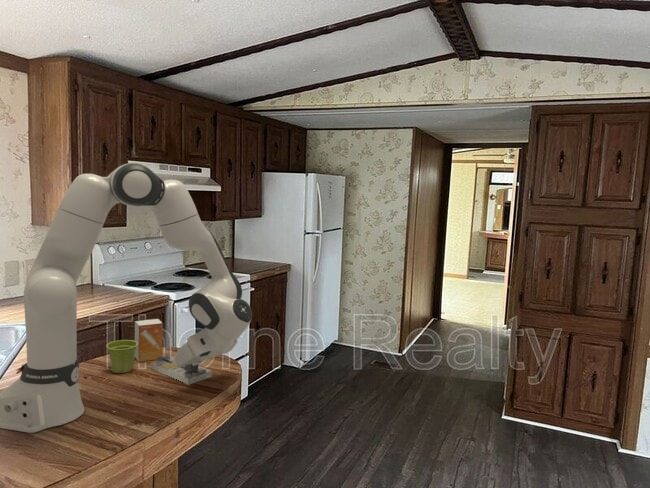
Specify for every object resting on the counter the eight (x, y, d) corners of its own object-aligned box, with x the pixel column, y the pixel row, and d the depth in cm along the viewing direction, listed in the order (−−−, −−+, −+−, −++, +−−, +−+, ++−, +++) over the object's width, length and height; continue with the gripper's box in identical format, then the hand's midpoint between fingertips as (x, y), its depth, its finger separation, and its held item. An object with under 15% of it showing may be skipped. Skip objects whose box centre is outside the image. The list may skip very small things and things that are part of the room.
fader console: (212, 377, 151) (212, 367, 151) (188, 385, 144) (188, 375, 144) (173, 361, 164) (173, 352, 164) (150, 368, 157) (150, 359, 156)
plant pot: (143, 369, 156) (144, 343, 155) (118, 378, 148) (117, 351, 147) (126, 363, 161) (126, 338, 160) (100, 371, 153) (100, 344, 152)
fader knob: (198, 370, 151) (199, 345, 150) (190, 372, 148) (190, 347, 147) (192, 367, 153) (192, 342, 152) (184, 370, 150) (184, 345, 149)
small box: (138, 362, 161) (138, 325, 160) (134, 357, 166) (134, 320, 165) (162, 359, 166) (162, 322, 164) (158, 353, 171) (158, 318, 170)
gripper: (237, 323, 151) (217, 346, 158) (183, 337, 135) (163, 362, 142) (247, 340, 149) (225, 362, 156) (193, 356, 133) (172, 380, 140)
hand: (195, 362), depth 149 cm, fingers closed, pressing on fader knob
